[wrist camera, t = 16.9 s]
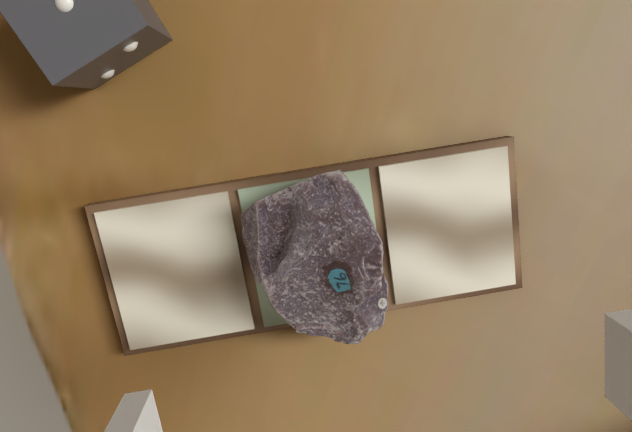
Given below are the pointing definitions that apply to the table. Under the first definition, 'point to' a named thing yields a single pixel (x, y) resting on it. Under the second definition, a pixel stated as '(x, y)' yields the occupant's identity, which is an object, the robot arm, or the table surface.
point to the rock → (319, 258)
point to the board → (238, 195)
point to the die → (85, 36)
